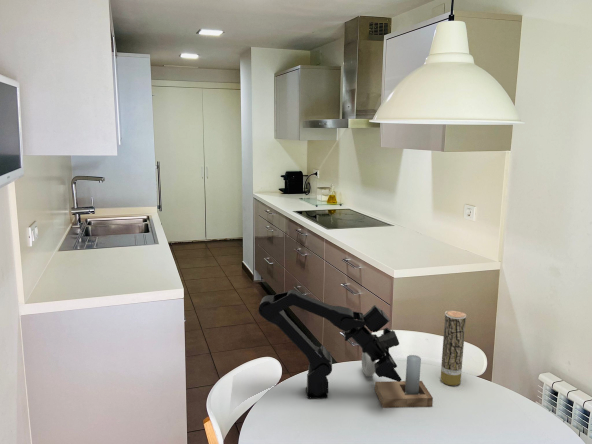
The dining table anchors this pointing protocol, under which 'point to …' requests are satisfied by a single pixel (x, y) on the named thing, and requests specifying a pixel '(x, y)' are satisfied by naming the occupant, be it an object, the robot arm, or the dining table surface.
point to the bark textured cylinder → (453, 347)
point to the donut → (367, 365)
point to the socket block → (401, 395)
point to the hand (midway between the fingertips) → (398, 373)
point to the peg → (412, 375)
